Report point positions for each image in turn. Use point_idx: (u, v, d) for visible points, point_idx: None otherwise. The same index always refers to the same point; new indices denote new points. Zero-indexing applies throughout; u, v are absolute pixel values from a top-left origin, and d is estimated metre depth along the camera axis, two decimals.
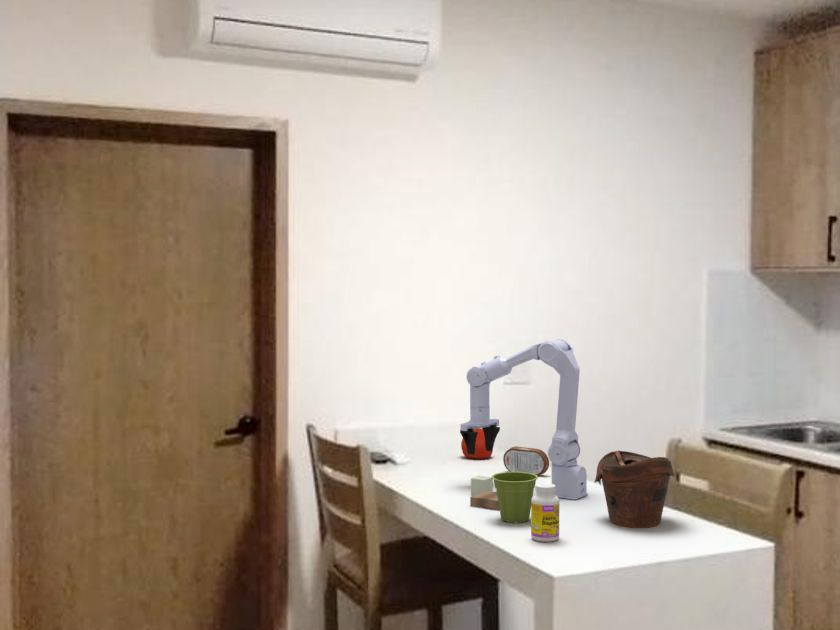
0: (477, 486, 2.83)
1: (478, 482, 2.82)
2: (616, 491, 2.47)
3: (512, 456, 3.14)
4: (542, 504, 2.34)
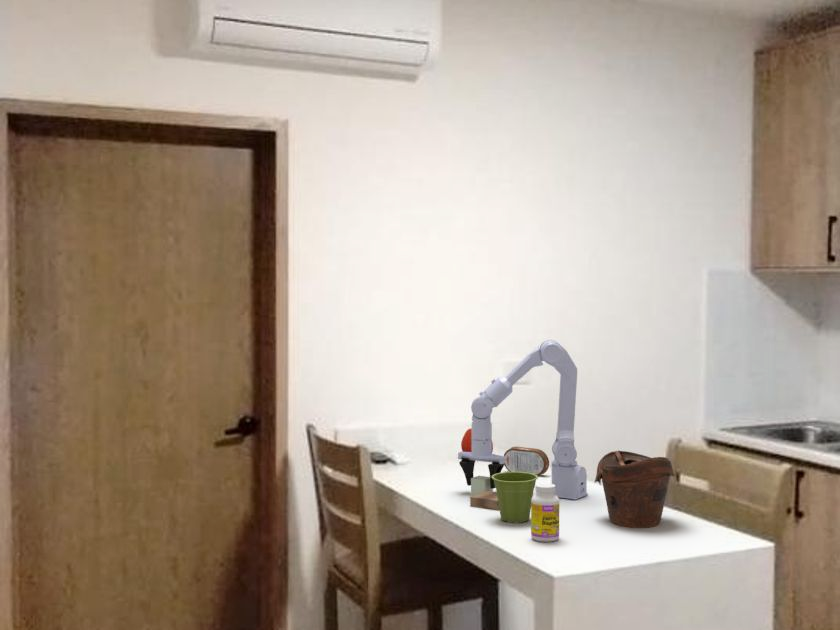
0: (477, 486, 2.83)
1: (478, 482, 2.82)
2: (616, 491, 2.47)
3: (512, 456, 3.14)
4: (542, 504, 2.34)
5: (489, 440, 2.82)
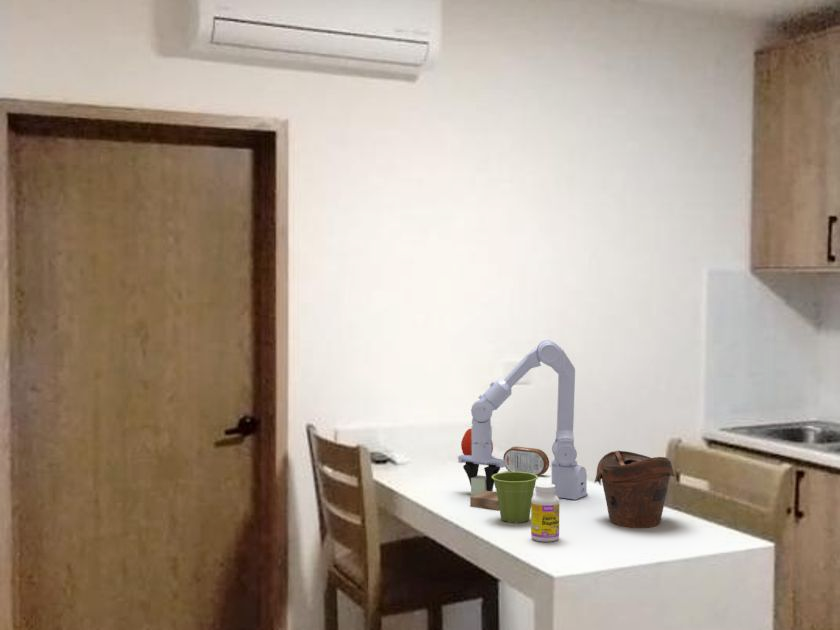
0: (477, 486, 2.83)
1: (478, 481, 2.82)
2: (616, 491, 2.47)
3: (512, 456, 3.14)
4: (542, 504, 2.34)
5: (489, 443, 2.82)
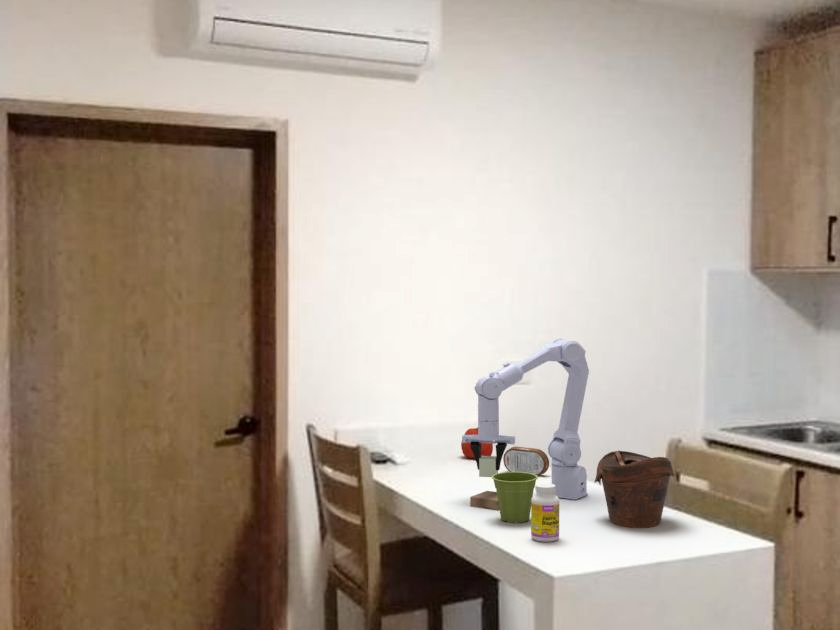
0: (486, 466, 2.74)
1: (487, 462, 2.74)
2: (616, 491, 2.47)
3: (512, 456, 3.14)
4: (542, 504, 2.34)
5: (498, 421, 2.75)
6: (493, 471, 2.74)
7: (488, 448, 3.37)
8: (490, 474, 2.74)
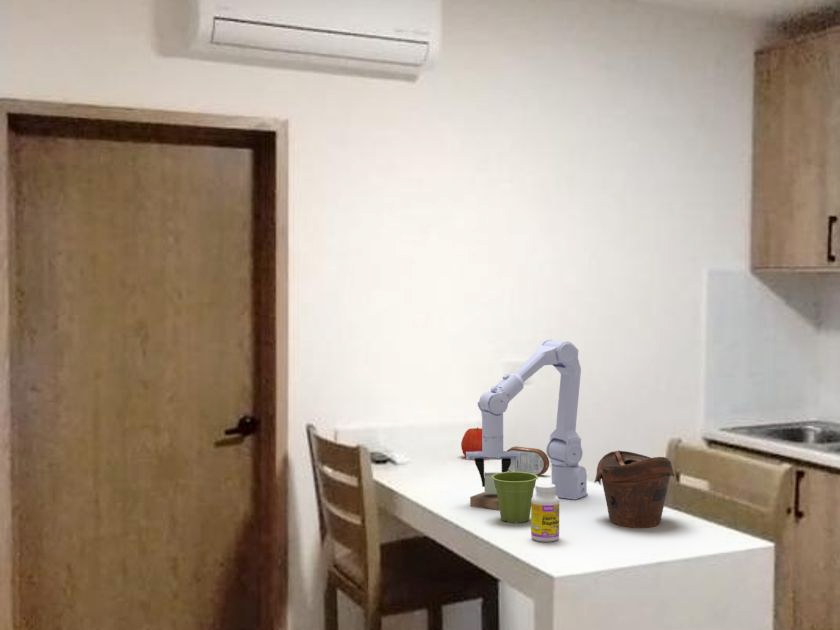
0: (492, 483, 2.70)
1: None
2: (616, 491, 2.47)
3: None
4: (542, 504, 2.34)
5: None
6: None
7: None
8: (496, 491, 2.70)
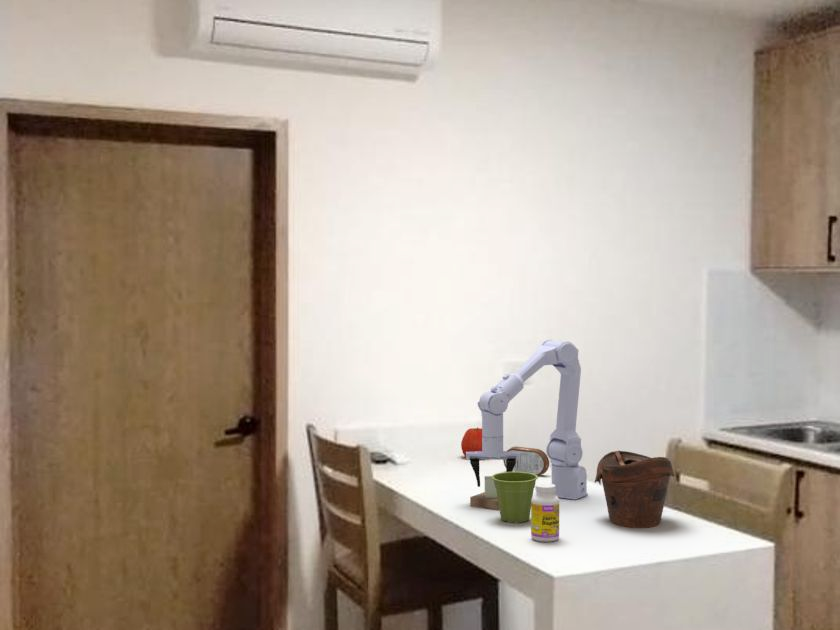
0: (493, 487, 2.70)
1: None
2: (616, 491, 2.47)
3: None
4: (542, 504, 2.34)
5: None
6: None
7: None
8: None
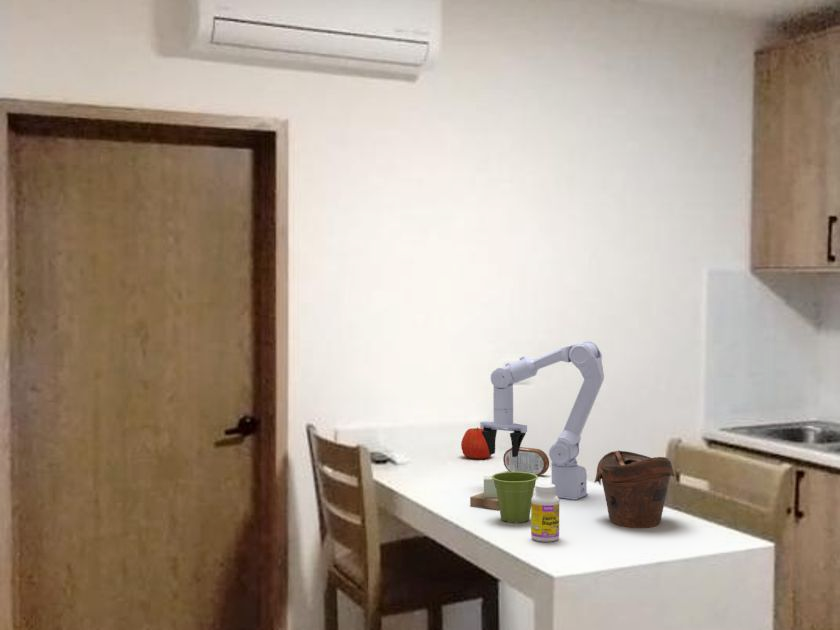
0: (491, 487, 2.70)
1: (492, 482, 2.69)
2: (616, 491, 2.47)
3: None
4: (542, 504, 2.34)
5: (511, 409, 2.88)
6: None
7: None
8: (495, 494, 2.70)
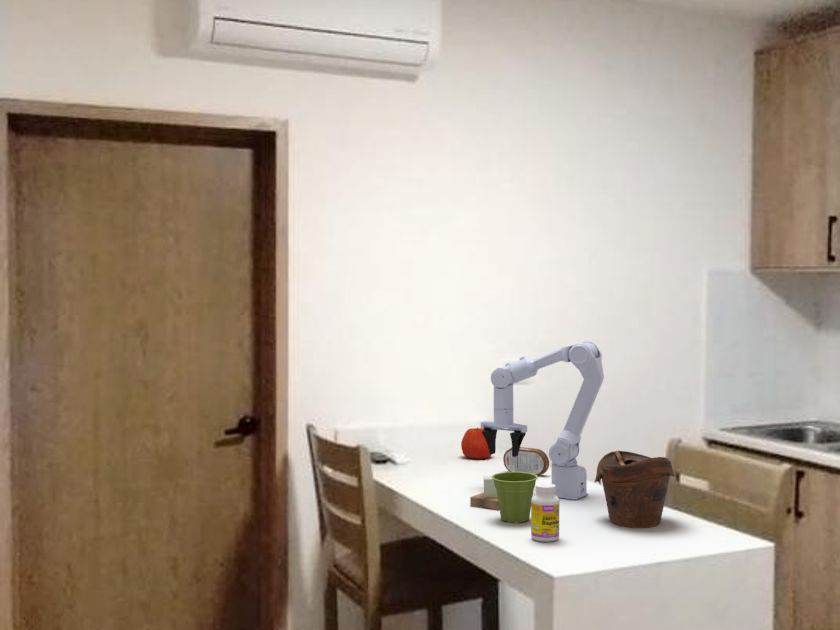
0: (492, 487, 2.70)
1: (492, 482, 2.70)
2: (616, 491, 2.47)
3: (512, 456, 3.14)
4: (542, 504, 2.34)
5: (511, 409, 2.88)
6: None
7: None
8: (495, 494, 2.70)
